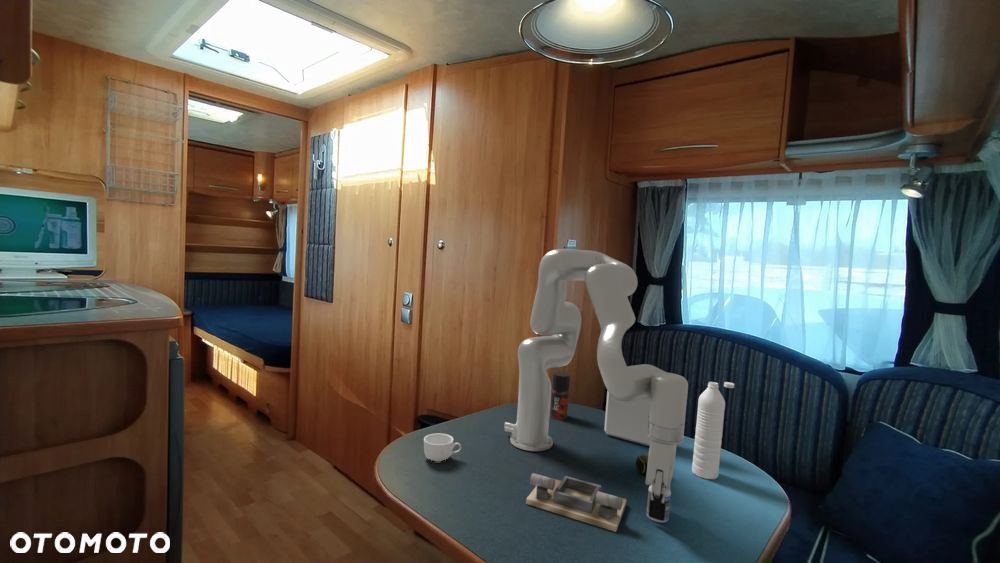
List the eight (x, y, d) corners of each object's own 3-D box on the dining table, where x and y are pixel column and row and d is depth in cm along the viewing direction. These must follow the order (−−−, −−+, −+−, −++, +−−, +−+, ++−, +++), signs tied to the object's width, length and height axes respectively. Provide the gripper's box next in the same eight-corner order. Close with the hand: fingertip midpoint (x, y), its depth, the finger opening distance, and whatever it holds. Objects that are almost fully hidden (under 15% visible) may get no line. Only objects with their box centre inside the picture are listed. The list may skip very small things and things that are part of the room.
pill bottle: (666, 526, 97) (669, 487, 97) (643, 518, 100) (647, 480, 99) (670, 515, 101) (674, 479, 101) (649, 508, 104) (652, 472, 103)
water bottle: (698, 479, 119) (707, 385, 118) (687, 467, 126) (695, 378, 124) (731, 480, 120) (740, 387, 118) (718, 469, 126) (727, 380, 124)
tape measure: (667, 477, 119) (669, 464, 119) (645, 480, 117) (646, 466, 117) (651, 465, 126) (652, 452, 126) (630, 467, 124) (631, 454, 124)
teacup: (421, 465, 118) (422, 444, 117) (424, 451, 125) (425, 432, 125) (460, 466, 118) (461, 445, 118) (460, 453, 126) (461, 433, 126)
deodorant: (549, 418, 157) (552, 375, 156) (550, 412, 163) (553, 371, 162) (566, 420, 156) (570, 377, 155) (567, 414, 162) (570, 372, 161)
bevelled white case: (677, 445, 141) (683, 381, 139) (671, 454, 134) (677, 387, 133) (610, 427, 152) (615, 368, 151) (602, 435, 145) (607, 373, 144)
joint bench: (525, 503, 103) (527, 479, 102) (543, 480, 113) (545, 458, 113) (616, 532, 94) (618, 505, 94) (626, 504, 105) (628, 480, 105)
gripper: (652, 415, 109) (645, 488, 110) (641, 440, 93) (634, 525, 94) (686, 422, 106) (679, 497, 107) (680, 449, 90) (672, 537, 91)
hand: (658, 509), depth 101 cm, fingers open, 5 cm apart
